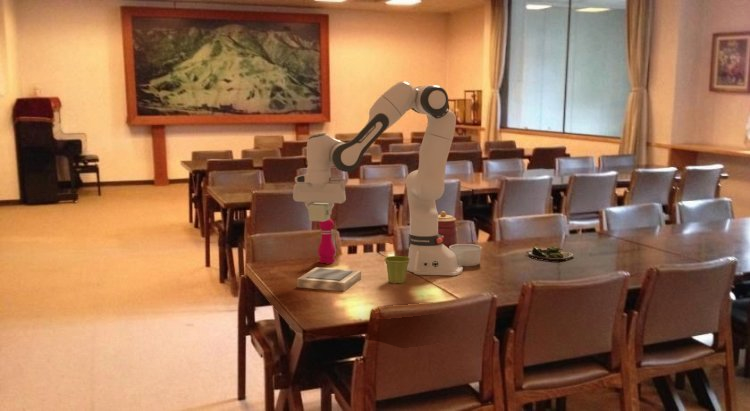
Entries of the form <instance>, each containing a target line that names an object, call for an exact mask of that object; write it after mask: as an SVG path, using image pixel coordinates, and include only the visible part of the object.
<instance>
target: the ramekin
mask: <svg viewBox="0 0 750 411" xmlns="http://www.w3.org/2000/svg"><path fill="white" fill-rule="evenodd" d="M449 249H450V250H451V251H452V252H454V253H455V255H456V258H457V265H461V266H462V267H475V266H478V265H479V264H480V261H481V257H482V250H483V248H482V246H480V245H478V244H472V243H457V244H455V245H451V246H450V247H449Z"/></svg>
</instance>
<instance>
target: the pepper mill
mask: <svg viewBox="0 0 750 411" xmlns="http://www.w3.org/2000/svg"><path fill="white" fill-rule="evenodd" d="M334 225H335V223H334V221H333V219H332V218H330V219H329V220H327V221H324V222H323V221H318V227H319V228H320V235H321V241H320V244H319V246H318V249H317V254H318V256H319V258H318V261H319V263H320V264H323V263H330V264H334V263H335V257H334V256H335V255H336V247H335V245H334V243H333V240H332V234H333V228H334ZM333 262H334V263H333Z"/></svg>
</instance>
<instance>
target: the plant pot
mask: <svg viewBox="0 0 750 411" xmlns="http://www.w3.org/2000/svg"><path fill="white" fill-rule="evenodd" d="M384 261H385V264H386V271H387V279H388V282H389V283H390V284H397V283H398V284H403V283H405V282H406V279H407V272H408V270H407V266H408V264H409V261H410V258H408V256H404V255H403V256H400V255H392V256H390V255H389V256H385V257H384Z"/></svg>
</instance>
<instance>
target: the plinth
mask: <svg viewBox="0 0 750 411" xmlns="http://www.w3.org/2000/svg"><path fill="white" fill-rule="evenodd" d="M360 280H362V270H356V269H355V270H354V269H342V268H329V267H318V266H317V267H314V268H312V269H311V270H309V271H307V273H304V274H303V275H301V276H300V277H298V278H296V287H297V288H303V289H313V290H314V289H315V290H323V291H324V290H326V291H334V292H335V291H336V292H337V291H339V292H346V291H347V290H348V289H349V288H351V287H352V286H354V285H355V284H356V283H357V282H359V281H360Z"/></svg>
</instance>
